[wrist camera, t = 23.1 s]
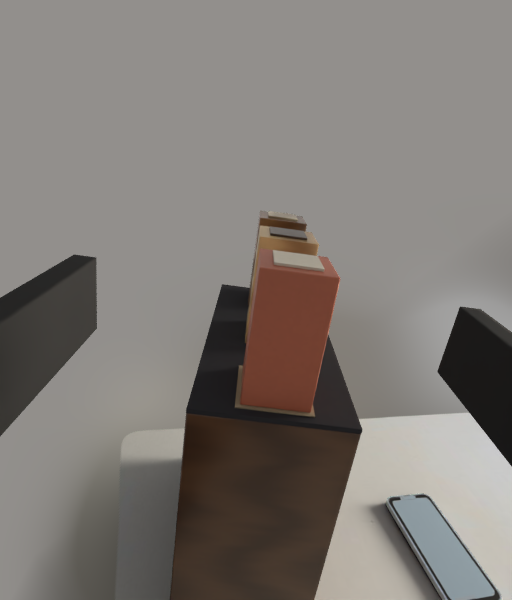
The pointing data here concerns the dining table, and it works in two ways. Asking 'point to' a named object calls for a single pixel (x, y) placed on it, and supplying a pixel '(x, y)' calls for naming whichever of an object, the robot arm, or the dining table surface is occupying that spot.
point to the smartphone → (441, 549)
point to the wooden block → (281, 222)
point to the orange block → (287, 329)
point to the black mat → (229, 367)
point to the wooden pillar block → (281, 249)
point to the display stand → (256, 508)
